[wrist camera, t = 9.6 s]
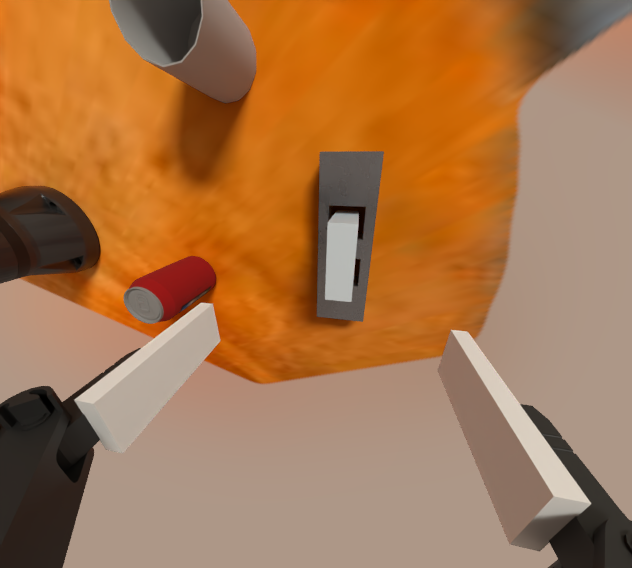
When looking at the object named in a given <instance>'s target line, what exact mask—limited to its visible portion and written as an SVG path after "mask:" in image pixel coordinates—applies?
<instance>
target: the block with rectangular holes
mask: <svg viewBox="0 0 632 568" xmlns="http://www.w3.org/2000/svg"><path fill="white" fill-rule="evenodd" d="M383 154H384V152H320V171H319V226H318V280H317V317H325V318H334V319H344V320H353V321H362V322H363V317H364V309H365V301H366V292H367V284H368V276H369V268H370V260H371V252H372V243H373V235H374V227H375V219H376V211H377V203H378V194H379V186H380V178H381V170H382V162H383ZM332 206H362V207H365V213H364V223H363V233H358V236H357V247H356V258H355V259H360V263H359V273H358V276H356V275H354V279H353V290H352V301H351V302H345V301H335V300H325V283H326V255H327V226H328V221H329V220H330V219H331V218H332Z"/></svg>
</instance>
